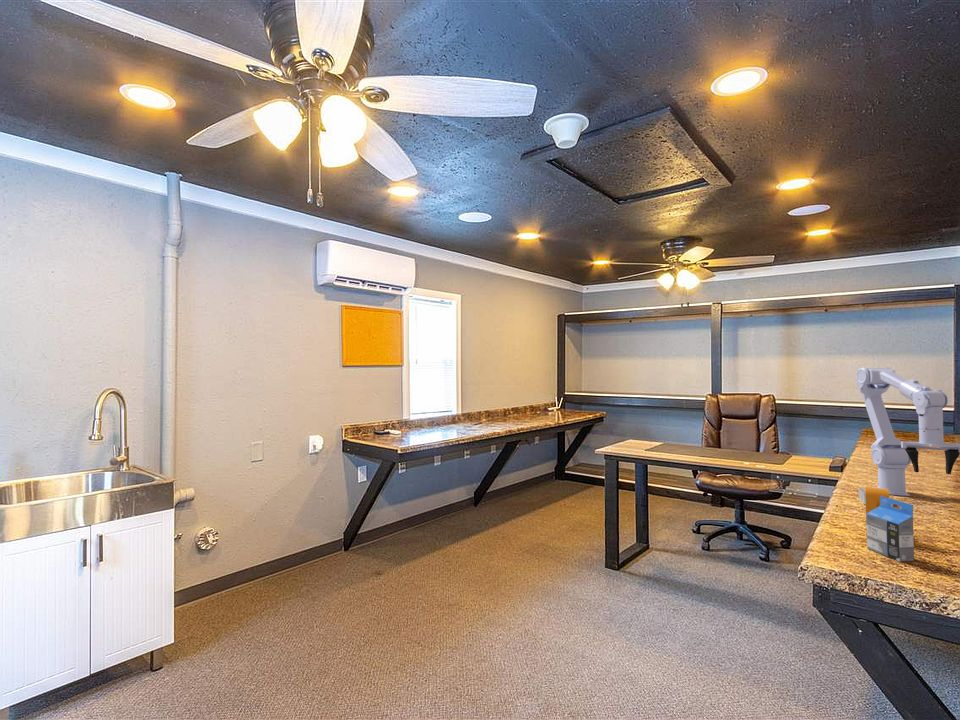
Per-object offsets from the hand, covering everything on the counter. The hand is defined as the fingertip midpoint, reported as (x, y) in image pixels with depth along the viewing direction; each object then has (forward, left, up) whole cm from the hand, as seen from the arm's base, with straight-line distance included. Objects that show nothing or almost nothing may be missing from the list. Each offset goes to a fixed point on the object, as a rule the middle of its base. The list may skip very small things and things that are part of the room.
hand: (932, 472), depth 160 cm
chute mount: (+3, -15, -10) cm, 18 cm away
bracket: (+44, -20, -11) cm, 50 cm away
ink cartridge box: (+60, -22, -10) cm, 65 cm away
